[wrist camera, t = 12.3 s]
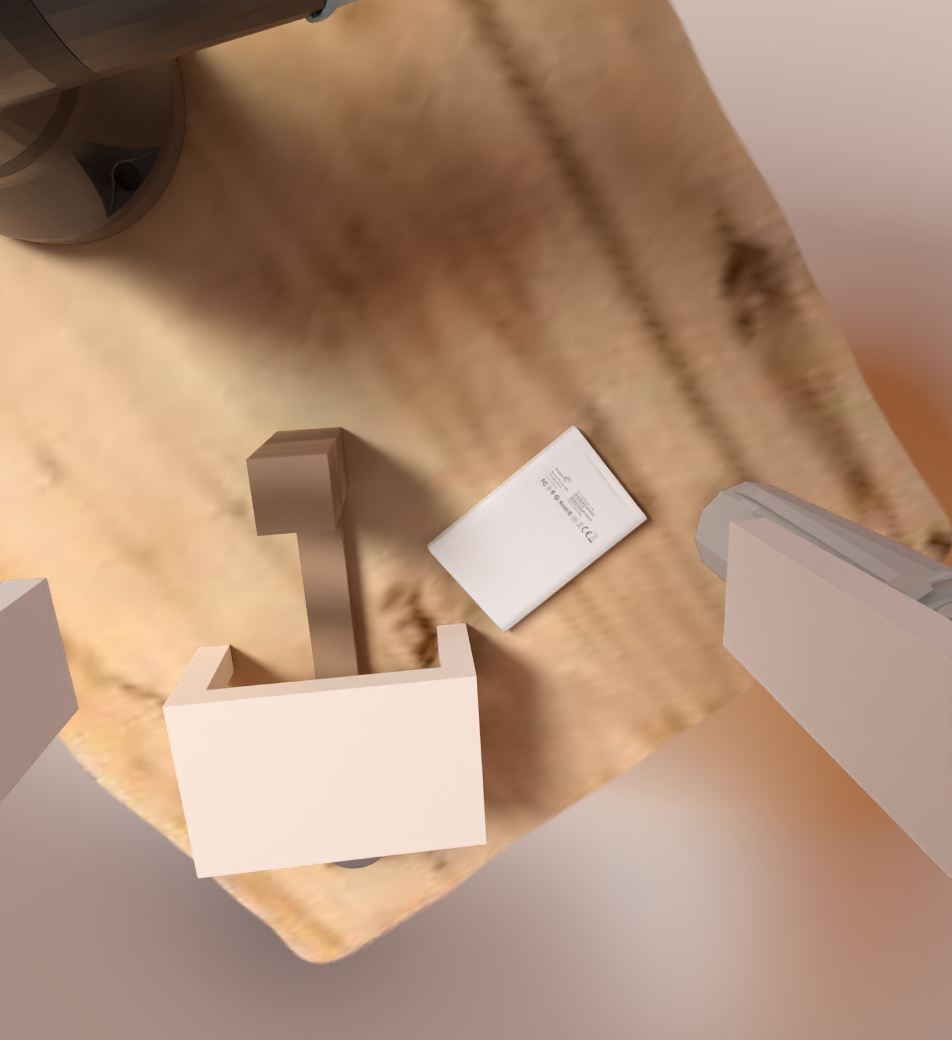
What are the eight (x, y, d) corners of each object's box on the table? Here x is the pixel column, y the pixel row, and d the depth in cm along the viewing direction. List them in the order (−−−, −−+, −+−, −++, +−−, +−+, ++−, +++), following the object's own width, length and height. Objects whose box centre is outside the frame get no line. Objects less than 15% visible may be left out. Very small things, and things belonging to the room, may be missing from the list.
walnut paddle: (276, 431, 44) (246, 459, 35) (341, 427, 44) (326, 453, 35) (315, 713, 49) (296, 797, 41) (372, 707, 50) (365, 789, 41)
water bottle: (811, 536, 49) (1197, 742, 25) (717, 599, 50) (1007, 859, 26) (751, 431, 47) (1117, 551, 23) (653, 499, 47) (909, 686, 23)
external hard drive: (426, 541, 47) (571, 423, 46) (502, 624, 49) (641, 514, 48) (427, 549, 46) (576, 426, 44) (505, 634, 48) (649, 520, 46)
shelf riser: (199, 647, 47) (162, 707, 40) (465, 623, 48) (476, 676, 41) (226, 798, 50) (197, 878, 43) (474, 771, 52) (486, 844, 45)
